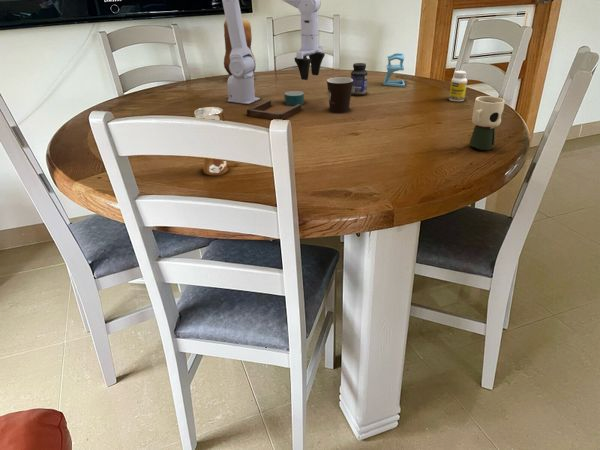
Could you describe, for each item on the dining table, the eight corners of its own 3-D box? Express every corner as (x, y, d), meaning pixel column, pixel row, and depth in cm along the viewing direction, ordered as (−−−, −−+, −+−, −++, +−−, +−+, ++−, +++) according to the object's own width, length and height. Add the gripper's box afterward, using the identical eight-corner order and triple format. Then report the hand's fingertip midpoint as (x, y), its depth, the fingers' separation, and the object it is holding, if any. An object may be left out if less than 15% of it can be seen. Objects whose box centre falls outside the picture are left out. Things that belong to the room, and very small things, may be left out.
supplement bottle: (447, 101, 164) (451, 72, 159) (449, 97, 168) (453, 69, 163) (463, 102, 162) (468, 73, 157) (465, 98, 166) (469, 70, 162)
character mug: (482, 156, 118) (491, 106, 112) (457, 149, 123) (465, 100, 117) (504, 146, 124) (514, 98, 118) (480, 139, 129) (488, 93, 123)
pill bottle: (367, 96, 172) (368, 65, 167) (350, 96, 172) (352, 65, 167) (365, 92, 178) (367, 62, 172) (349, 92, 178) (350, 62, 172)
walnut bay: (247, 115, 154) (246, 109, 153) (268, 105, 164) (268, 100, 163) (281, 120, 148) (281, 114, 147) (301, 110, 158) (301, 104, 157)
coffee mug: (350, 114, 153) (351, 83, 148) (324, 113, 154) (324, 82, 149) (354, 104, 162) (355, 75, 157) (329, 103, 164) (330, 75, 159)
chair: (383, 82, 191) (385, 51, 185) (403, 82, 190) (406, 51, 184) (383, 86, 184) (385, 55, 178) (404, 87, 183) (407, 55, 177)
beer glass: (203, 166, 117) (195, 107, 109) (230, 164, 117) (224, 106, 110) (200, 177, 111) (191, 115, 103) (229, 175, 111) (222, 114, 104)
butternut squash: (263, 78, 202) (259, 16, 190) (243, 84, 192) (238, 19, 180) (238, 74, 209) (233, 14, 196) (218, 81, 199) (212, 18, 187)
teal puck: (281, 104, 165) (280, 94, 163) (290, 99, 170) (290, 90, 168) (298, 106, 162) (297, 96, 160) (307, 101, 167) (307, 92, 165)
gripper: (309, 38, 144) (310, 82, 151) (330, 32, 155) (329, 74, 161) (290, 37, 147) (291, 80, 154) (312, 31, 158) (312, 72, 164)
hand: (310, 77), depth 158 cm, fingers open, 7 cm apart
